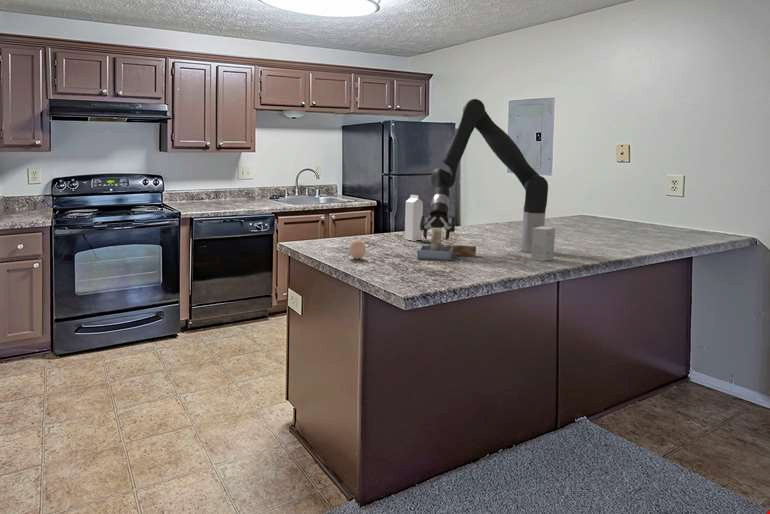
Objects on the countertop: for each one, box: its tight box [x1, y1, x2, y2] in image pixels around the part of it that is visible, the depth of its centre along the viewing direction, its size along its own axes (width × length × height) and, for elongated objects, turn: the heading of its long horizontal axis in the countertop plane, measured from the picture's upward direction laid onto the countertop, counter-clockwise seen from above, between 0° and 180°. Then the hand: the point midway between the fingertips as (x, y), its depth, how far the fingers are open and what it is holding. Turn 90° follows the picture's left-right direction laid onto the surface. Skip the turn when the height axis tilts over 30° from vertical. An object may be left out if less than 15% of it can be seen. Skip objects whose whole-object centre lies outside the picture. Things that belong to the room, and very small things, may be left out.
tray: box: [417, 244, 454, 262], centre depth 233 cm, size 13×13×4 cm
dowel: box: [430, 227, 443, 251], centre depth 232 cm, size 4×4×11 cm
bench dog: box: [446, 244, 477, 257], centre depth 238 cm, size 12×3×4 cm, turn 79°
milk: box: [404, 194, 424, 241], centre depth 273 cm, size 6×6×22 cm
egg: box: [348, 239, 367, 260], centre depth 225 cm, size 7×7×8 cm
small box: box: [530, 225, 556, 262], centre depth 231 cm, size 8×6×13 cm
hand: (436, 238), depth 231 cm, fingers open, 8 cm apart
